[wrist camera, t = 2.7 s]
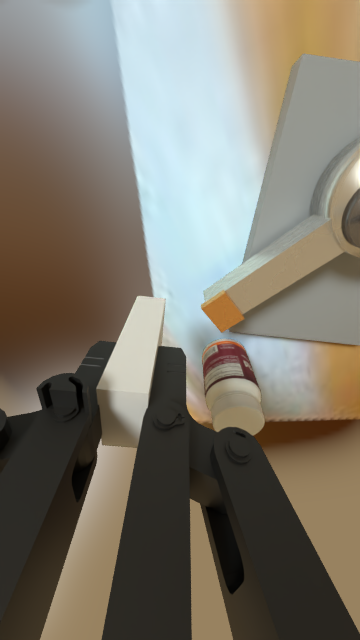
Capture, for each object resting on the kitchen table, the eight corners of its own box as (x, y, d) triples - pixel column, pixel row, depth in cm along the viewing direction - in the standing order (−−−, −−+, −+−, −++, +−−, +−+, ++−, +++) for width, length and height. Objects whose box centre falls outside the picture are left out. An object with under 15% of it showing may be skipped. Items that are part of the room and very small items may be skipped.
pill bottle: (248, 366, 25) (272, 438, 18) (206, 374, 26) (214, 445, 19) (243, 332, 23) (268, 398, 16) (197, 341, 24) (201, 409, 17)
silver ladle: (412, 94, 13) (491, 62, 9) (436, 204, 15) (504, 209, 12) (183, 270, 18) (182, 289, 15) (230, 329, 21) (238, 355, 17)
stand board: (292, 66, 13) (305, 51, 12) (509, 97, 14) (548, 87, 12) (227, 323, 23) (229, 333, 21) (358, 337, 23) (370, 347, 21)
